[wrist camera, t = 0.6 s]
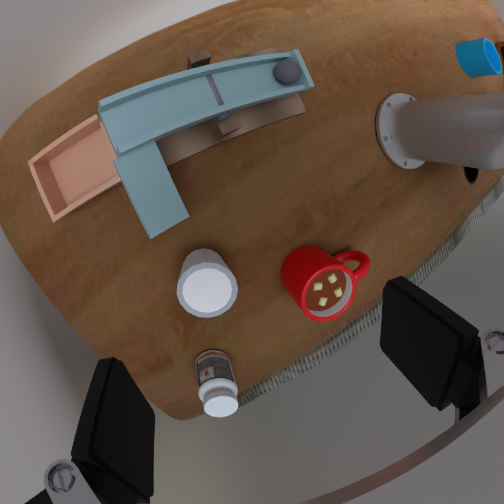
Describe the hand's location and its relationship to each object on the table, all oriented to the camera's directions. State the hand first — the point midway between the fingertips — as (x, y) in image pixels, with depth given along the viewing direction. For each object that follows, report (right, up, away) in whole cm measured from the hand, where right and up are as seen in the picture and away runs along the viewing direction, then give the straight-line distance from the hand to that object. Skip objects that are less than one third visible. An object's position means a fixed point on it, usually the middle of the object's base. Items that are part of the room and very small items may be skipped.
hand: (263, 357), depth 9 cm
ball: (+4, +23, +17) cm, 29 cm away
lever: (-3, +16, +17) cm, 24 cm away
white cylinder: (-7, +1, +29) cm, 29 cm away
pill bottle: (-7, -14, +34) cm, 37 cm away
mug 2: (+48, +46, +27) cm, 71 cm away
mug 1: (+9, +2, +32) cm, 34 cm away
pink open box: (-21, +14, +21) cm, 33 cm away
